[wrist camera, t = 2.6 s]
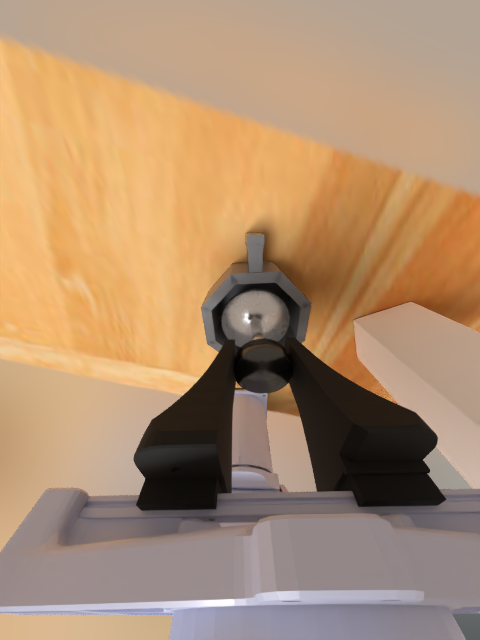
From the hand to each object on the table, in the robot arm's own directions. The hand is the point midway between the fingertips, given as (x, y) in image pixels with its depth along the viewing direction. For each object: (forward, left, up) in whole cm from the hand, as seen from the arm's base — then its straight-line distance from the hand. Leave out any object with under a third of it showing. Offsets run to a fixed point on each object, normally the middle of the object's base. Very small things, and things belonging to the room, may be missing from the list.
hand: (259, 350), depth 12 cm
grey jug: (+1, 0, -7) cm, 8 cm away
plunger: (0, 0, -4) cm, 4 cm away
